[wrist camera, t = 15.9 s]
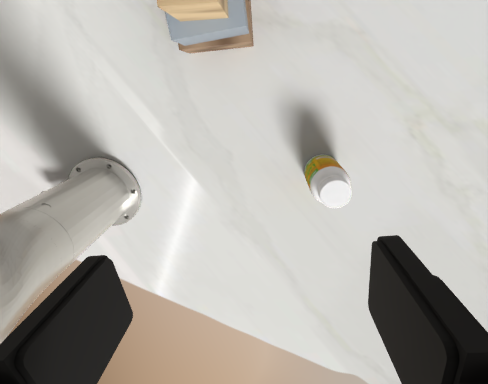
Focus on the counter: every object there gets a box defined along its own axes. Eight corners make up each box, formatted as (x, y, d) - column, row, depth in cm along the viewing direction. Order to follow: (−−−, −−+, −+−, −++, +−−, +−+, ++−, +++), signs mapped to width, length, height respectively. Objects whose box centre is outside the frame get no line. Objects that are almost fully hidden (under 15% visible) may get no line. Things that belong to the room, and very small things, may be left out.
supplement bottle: (305, 153, 41) (316, 173, 32) (340, 154, 41) (361, 175, 32) (302, 185, 43) (311, 212, 34) (335, 186, 43) (353, 214, 34)
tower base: (190, 53, 37) (179, 49, 32) (178, -26, 33) (164, -43, 29) (253, 46, 36) (251, 41, 31) (248, -36, 32) (245, -55, 28)
